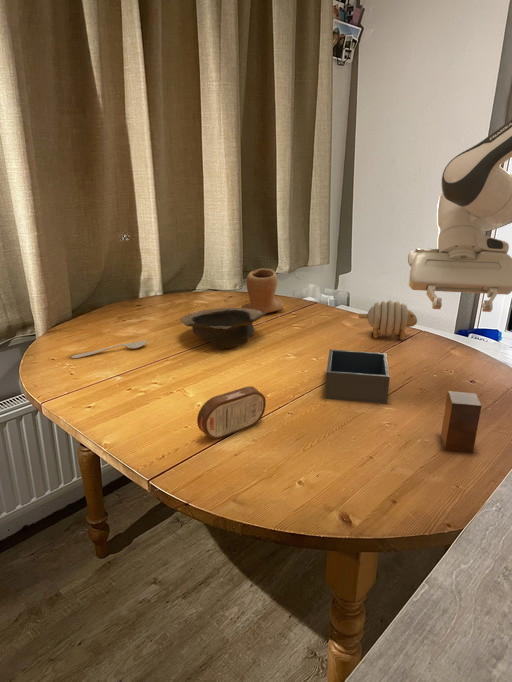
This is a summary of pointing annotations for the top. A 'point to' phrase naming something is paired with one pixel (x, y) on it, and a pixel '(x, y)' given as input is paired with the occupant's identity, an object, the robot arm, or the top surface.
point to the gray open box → (357, 376)
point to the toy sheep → (390, 318)
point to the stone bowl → (224, 325)
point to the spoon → (129, 345)
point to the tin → (231, 412)
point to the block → (460, 421)
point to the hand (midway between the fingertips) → (462, 309)
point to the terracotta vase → (263, 291)
